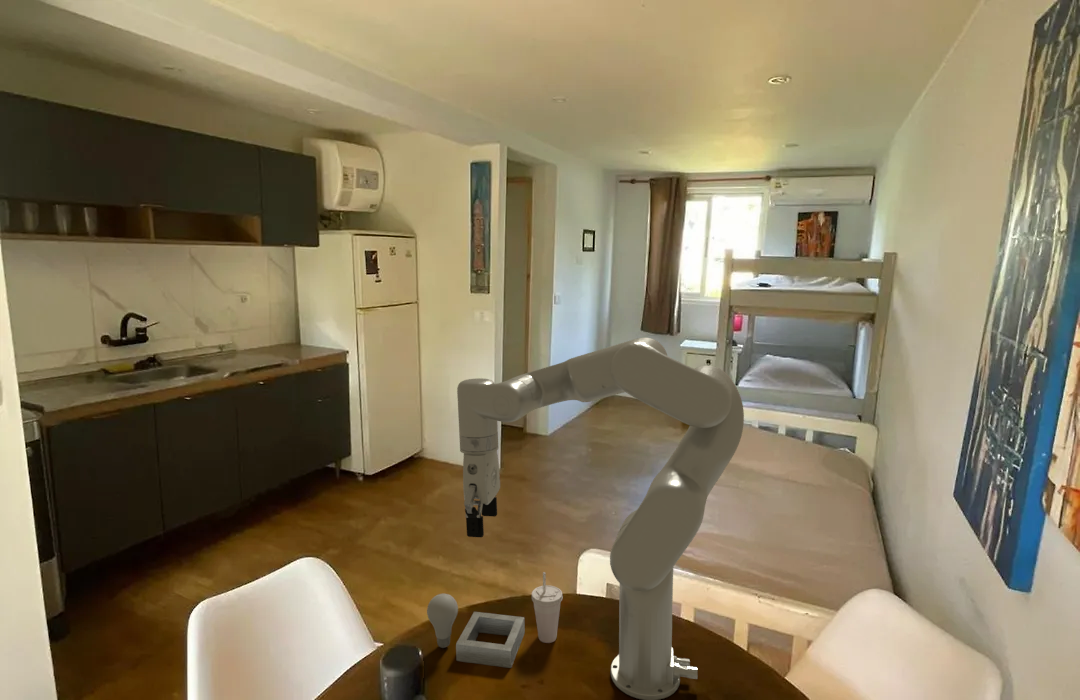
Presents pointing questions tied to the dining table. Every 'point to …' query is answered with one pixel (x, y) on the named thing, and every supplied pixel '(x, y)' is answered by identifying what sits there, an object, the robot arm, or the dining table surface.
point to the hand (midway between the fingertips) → (482, 525)
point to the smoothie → (547, 610)
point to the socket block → (490, 651)
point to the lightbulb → (442, 617)
